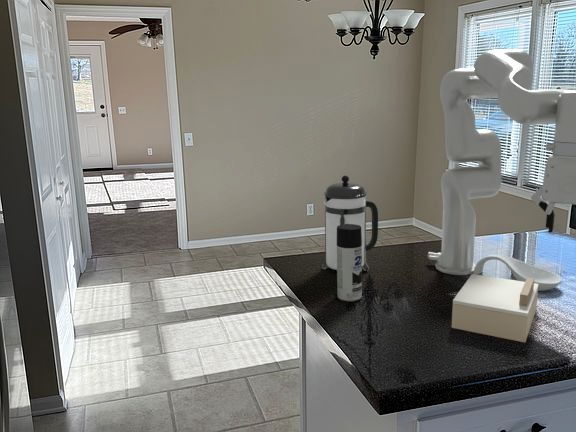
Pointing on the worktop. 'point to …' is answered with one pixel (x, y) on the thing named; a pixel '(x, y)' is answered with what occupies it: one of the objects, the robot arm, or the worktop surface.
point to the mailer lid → (498, 294)
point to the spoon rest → (523, 271)
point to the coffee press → (347, 217)
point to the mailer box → (493, 321)
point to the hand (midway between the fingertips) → (564, 231)
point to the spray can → (349, 262)
